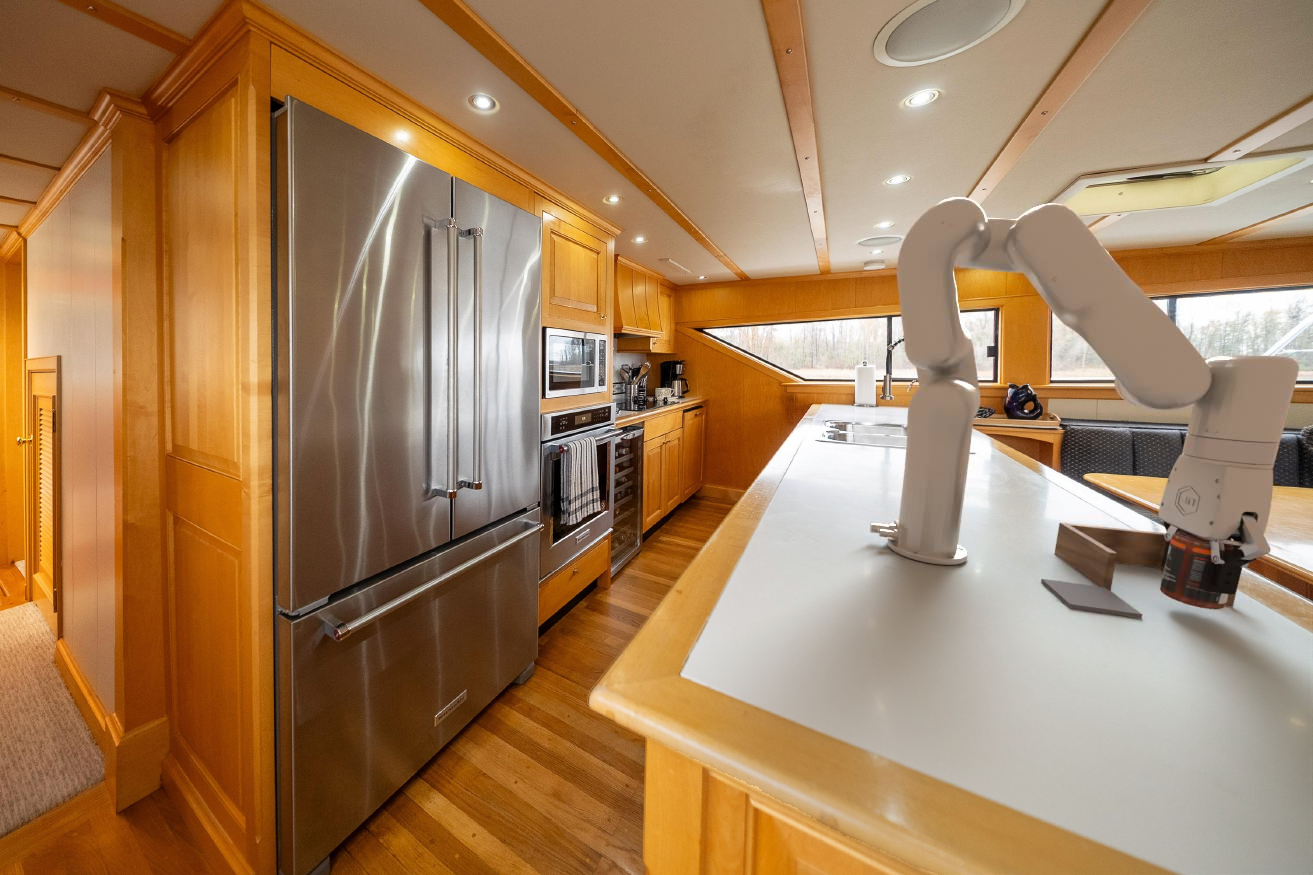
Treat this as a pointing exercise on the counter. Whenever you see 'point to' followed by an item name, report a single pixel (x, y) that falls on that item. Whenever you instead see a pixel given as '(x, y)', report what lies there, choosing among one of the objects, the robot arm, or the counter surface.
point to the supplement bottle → (1190, 571)
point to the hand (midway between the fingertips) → (1195, 578)
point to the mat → (1090, 598)
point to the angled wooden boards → (1110, 551)
